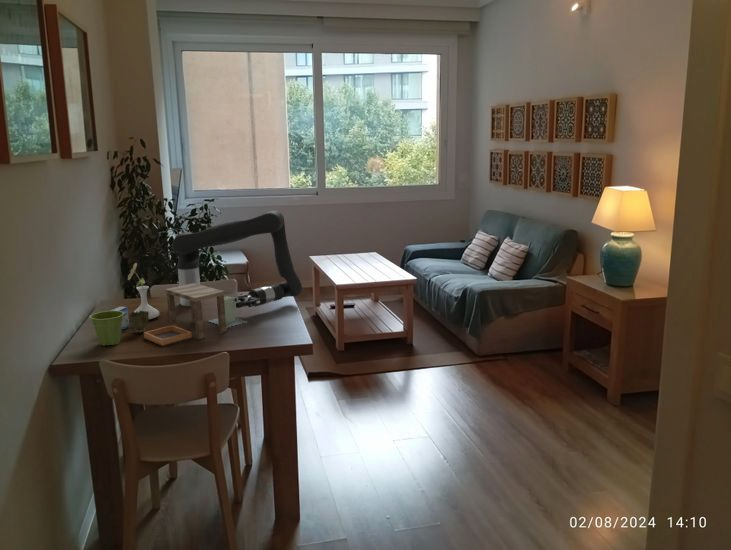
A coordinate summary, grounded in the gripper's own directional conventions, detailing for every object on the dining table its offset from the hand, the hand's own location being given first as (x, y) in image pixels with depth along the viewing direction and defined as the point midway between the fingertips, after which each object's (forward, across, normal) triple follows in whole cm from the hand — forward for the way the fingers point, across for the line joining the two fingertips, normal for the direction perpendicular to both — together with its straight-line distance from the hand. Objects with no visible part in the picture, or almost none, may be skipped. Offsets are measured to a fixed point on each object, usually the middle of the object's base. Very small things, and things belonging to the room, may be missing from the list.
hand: (230, 303), depth 248 cm
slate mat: (+2, 0, +7) cm, 8 cm away
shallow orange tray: (+29, 0, +7) cm, 30 cm away
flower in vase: (+22, -32, +8) cm, 40 cm away
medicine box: (+36, -26, +8) cm, 45 cm away
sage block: (+2, 0, +7) cm, 7 cm away
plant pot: (+46, -12, +8) cm, 48 cm away
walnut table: (+16, 0, +7) cm, 18 cm away
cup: (+32, -16, +8) cm, 37 cm away
